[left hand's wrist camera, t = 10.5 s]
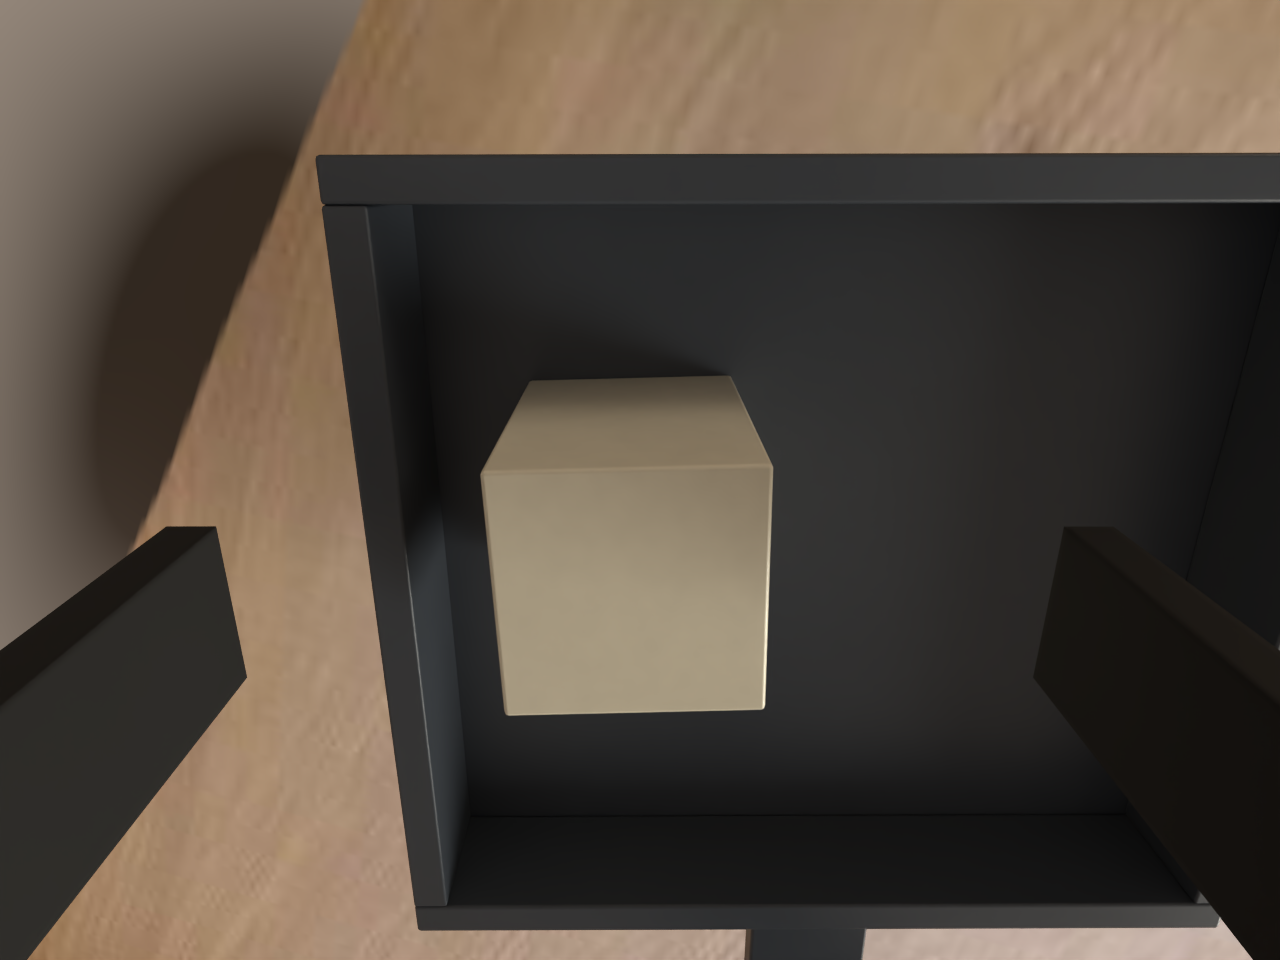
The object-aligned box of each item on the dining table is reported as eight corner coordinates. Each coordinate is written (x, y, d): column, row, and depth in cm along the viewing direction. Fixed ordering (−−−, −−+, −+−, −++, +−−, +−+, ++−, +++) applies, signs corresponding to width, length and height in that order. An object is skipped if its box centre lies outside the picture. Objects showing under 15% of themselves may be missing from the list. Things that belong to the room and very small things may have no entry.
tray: (381, 159, 17) (155, 142, 9) (1305, 158, 17) (1889, 138, 9) (471, 1012, 26) (398, 1379, 18) (1077, 1009, 26) (1271, 1375, 18)
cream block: (528, 379, 18) (479, 472, 12) (731, 374, 18) (774, 464, 12) (542, 562, 19) (504, 717, 14) (728, 557, 19) (765, 711, 14)
